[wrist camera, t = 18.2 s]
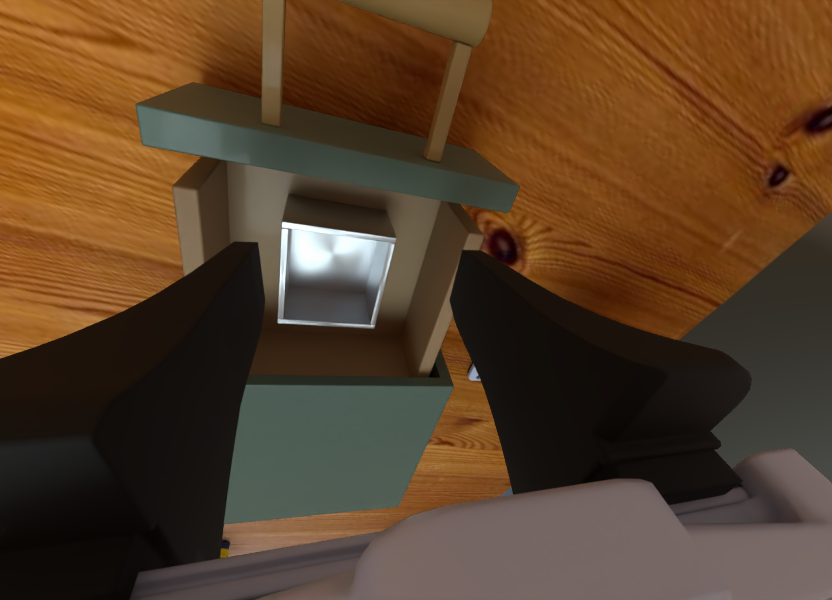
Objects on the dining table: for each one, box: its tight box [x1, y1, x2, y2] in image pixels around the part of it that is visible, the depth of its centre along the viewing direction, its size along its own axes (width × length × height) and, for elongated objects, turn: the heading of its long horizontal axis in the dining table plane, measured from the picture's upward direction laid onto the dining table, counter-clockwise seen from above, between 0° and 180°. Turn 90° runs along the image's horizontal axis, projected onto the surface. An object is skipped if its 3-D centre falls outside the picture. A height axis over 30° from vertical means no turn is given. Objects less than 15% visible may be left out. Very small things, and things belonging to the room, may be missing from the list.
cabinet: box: [224, 349, 454, 524], centre depth 25 cm, size 14×14×7 cm
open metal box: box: [277, 194, 397, 329], centre depth 18 cm, size 5×6×3 cm
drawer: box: [136, 0, 520, 377], centre depth 17 cm, size 19×13×6 cm
